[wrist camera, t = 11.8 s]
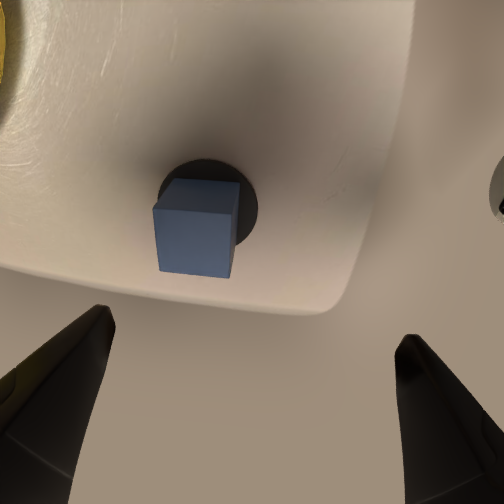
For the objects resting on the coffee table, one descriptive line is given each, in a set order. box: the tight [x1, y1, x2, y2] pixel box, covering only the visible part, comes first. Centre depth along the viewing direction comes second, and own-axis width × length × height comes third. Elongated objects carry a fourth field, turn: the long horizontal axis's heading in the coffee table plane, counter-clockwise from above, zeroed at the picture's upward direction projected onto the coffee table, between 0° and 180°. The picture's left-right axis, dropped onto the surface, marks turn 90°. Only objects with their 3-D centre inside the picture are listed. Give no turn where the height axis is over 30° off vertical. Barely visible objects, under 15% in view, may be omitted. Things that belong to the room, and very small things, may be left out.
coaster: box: [158, 159, 258, 246], centre depth 19 cm, size 6×6×1 cm
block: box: [153, 178, 240, 278], centre depth 17 cm, size 4×4×4 cm
